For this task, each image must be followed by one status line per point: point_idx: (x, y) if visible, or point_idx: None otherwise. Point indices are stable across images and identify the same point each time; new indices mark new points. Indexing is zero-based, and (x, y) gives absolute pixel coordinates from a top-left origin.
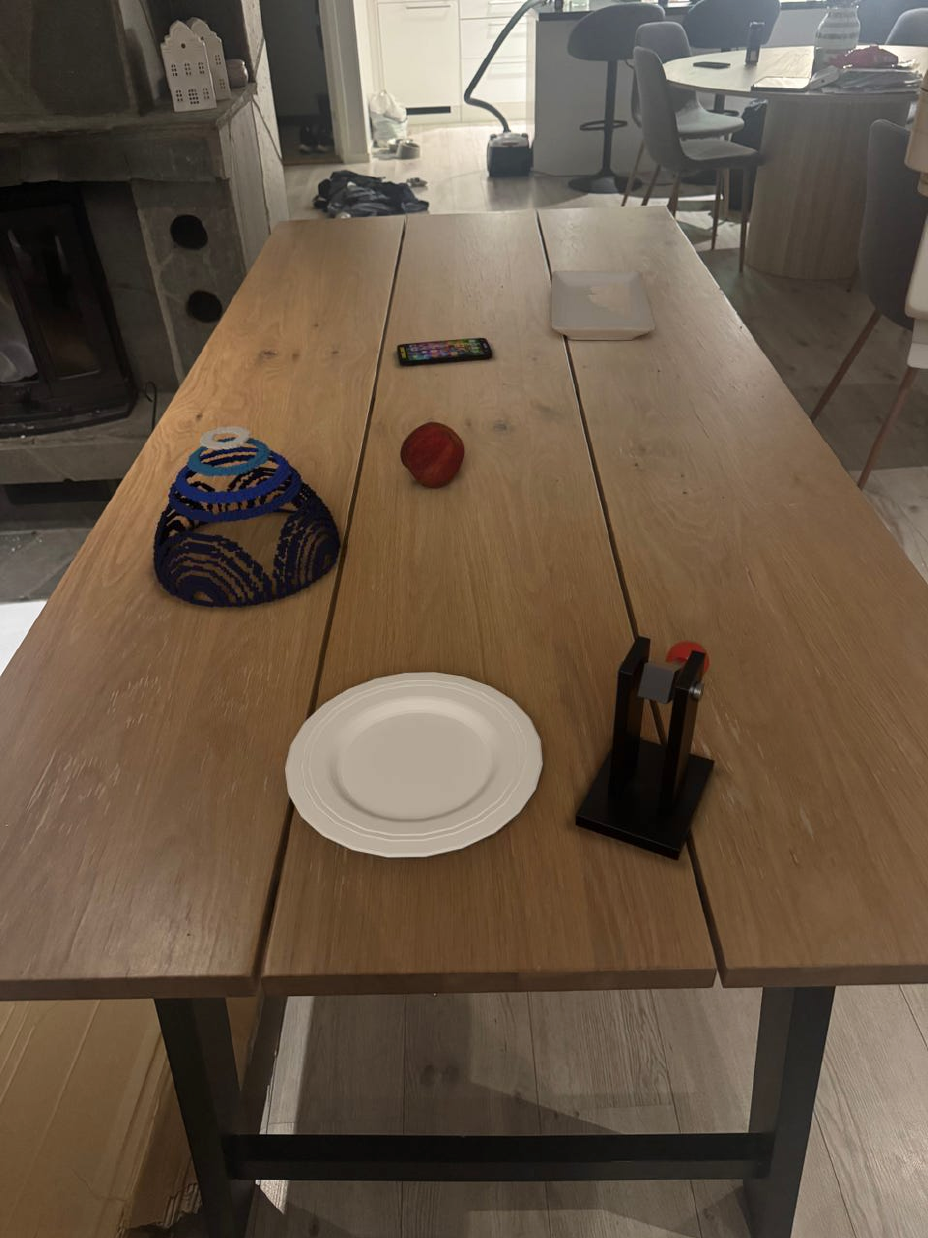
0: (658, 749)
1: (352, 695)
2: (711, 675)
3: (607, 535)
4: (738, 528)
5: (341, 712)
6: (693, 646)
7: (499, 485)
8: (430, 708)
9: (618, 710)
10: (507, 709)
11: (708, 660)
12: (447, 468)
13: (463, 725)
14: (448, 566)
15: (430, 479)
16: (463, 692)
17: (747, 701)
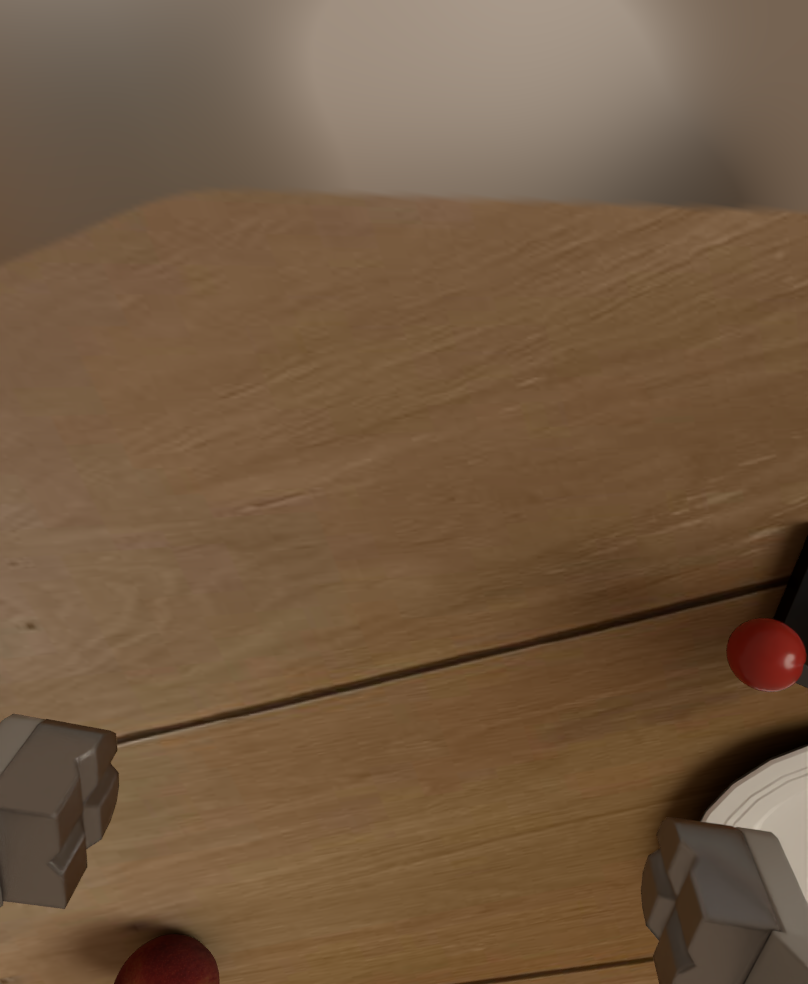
0: (804, 604)
1: None
2: (580, 540)
3: (230, 719)
4: (113, 531)
5: None
6: (780, 671)
7: (148, 872)
8: None
9: None
10: (757, 789)
11: (777, 632)
12: (193, 969)
13: (772, 816)
14: (399, 887)
15: (215, 970)
16: None
17: (637, 485)
